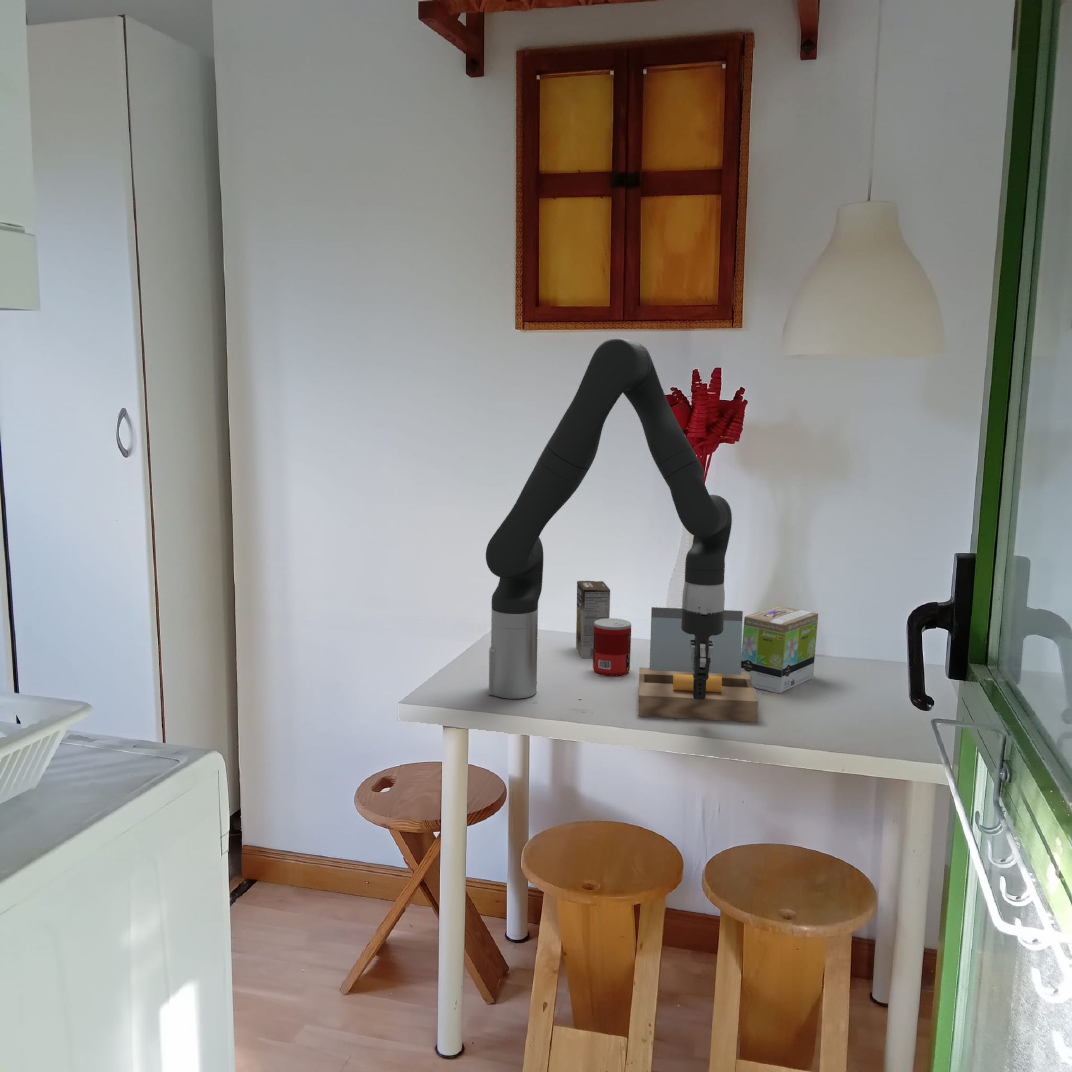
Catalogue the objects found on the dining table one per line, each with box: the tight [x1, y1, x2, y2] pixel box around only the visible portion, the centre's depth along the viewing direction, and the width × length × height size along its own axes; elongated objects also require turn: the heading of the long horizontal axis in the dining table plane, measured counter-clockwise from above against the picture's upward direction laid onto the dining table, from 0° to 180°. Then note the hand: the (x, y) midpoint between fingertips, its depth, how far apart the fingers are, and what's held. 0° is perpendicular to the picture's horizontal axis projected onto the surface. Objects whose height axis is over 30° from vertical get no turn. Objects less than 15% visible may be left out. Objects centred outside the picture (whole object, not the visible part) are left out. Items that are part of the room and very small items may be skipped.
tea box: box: [741, 605, 819, 694], centre depth 205 cm, size 15×10×15 cm
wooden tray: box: [637, 667, 759, 723], centre depth 191 cm, size 22×18×4 cm
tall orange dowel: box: [673, 674, 722, 692], centre depth 186 cm, size 9×3×3 cm
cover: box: [649, 606, 744, 675], centre depth 195 cm, size 18×13×1 cm
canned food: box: [592, 617, 632, 678], centre depth 210 cm, size 8×8×11 cm
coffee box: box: [575, 580, 611, 659], centre depth 224 cm, size 9×6×16 cm
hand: (699, 698), depth 179 cm, fingers closed
